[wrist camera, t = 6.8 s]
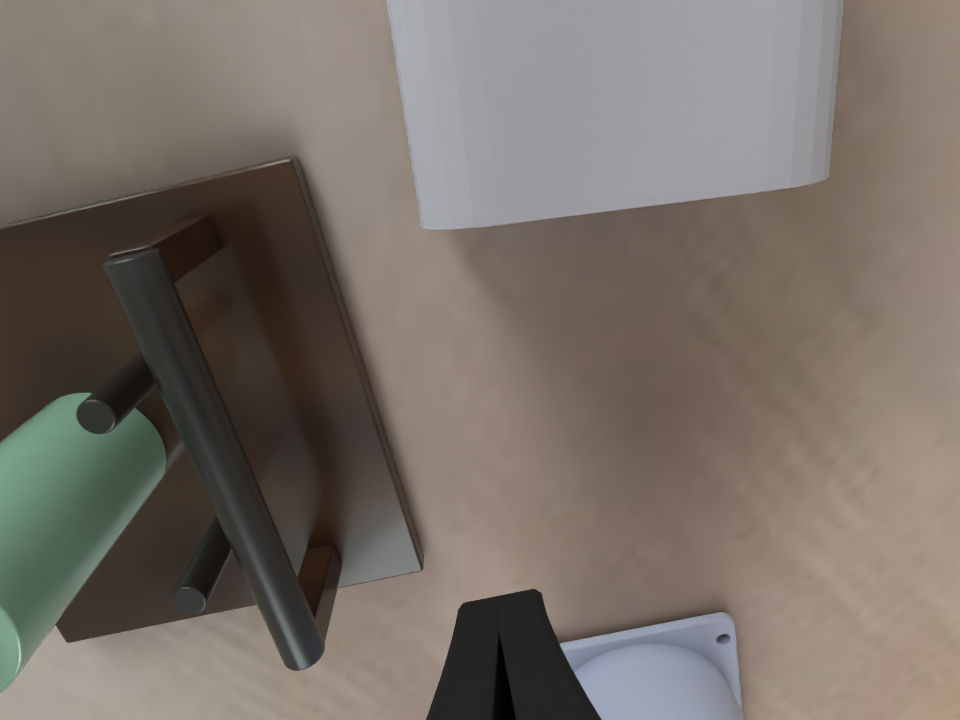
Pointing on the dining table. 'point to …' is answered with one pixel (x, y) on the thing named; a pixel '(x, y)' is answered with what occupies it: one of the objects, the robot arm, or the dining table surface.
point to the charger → (610, 102)
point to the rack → (211, 400)
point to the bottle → (64, 514)
